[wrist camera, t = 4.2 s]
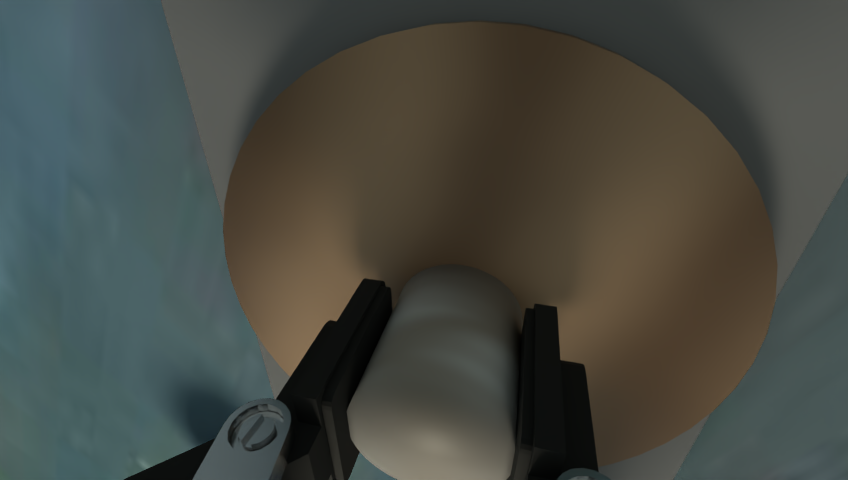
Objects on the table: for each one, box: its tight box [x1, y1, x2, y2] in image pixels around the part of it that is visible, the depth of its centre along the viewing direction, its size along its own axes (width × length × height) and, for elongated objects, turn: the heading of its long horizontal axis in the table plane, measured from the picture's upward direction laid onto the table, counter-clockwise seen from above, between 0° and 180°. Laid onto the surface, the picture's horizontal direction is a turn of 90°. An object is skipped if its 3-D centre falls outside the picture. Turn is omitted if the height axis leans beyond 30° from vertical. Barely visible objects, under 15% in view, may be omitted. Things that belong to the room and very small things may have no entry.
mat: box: [161, 0, 848, 480], centre depth 13 cm, size 16×16×1 cm
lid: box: [223, 20, 778, 480], centre depth 10 cm, size 15×15×5 cm
